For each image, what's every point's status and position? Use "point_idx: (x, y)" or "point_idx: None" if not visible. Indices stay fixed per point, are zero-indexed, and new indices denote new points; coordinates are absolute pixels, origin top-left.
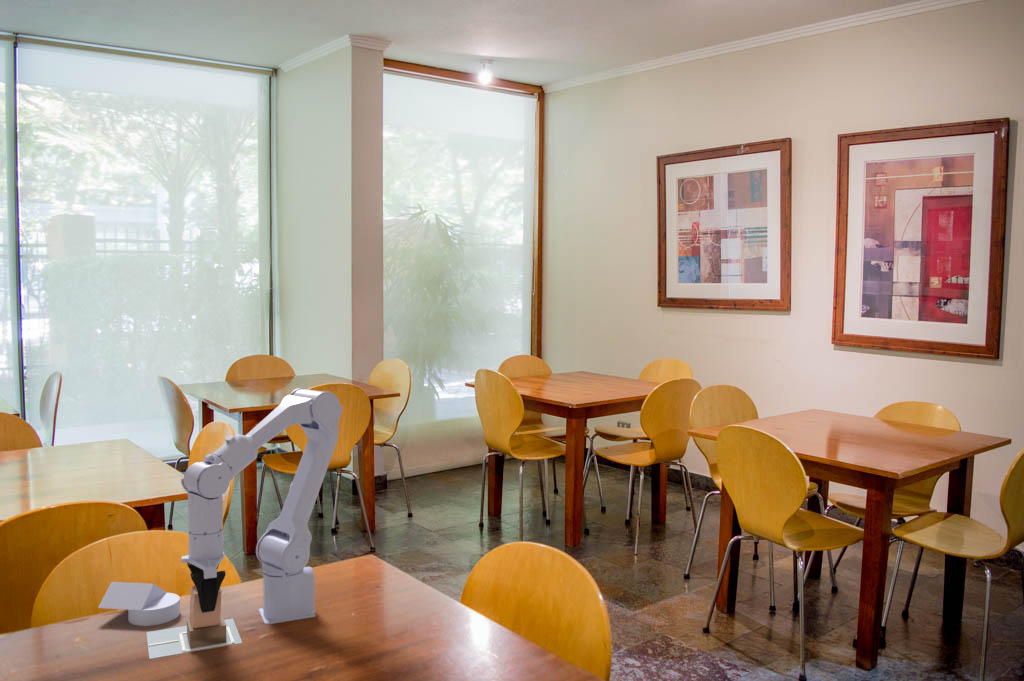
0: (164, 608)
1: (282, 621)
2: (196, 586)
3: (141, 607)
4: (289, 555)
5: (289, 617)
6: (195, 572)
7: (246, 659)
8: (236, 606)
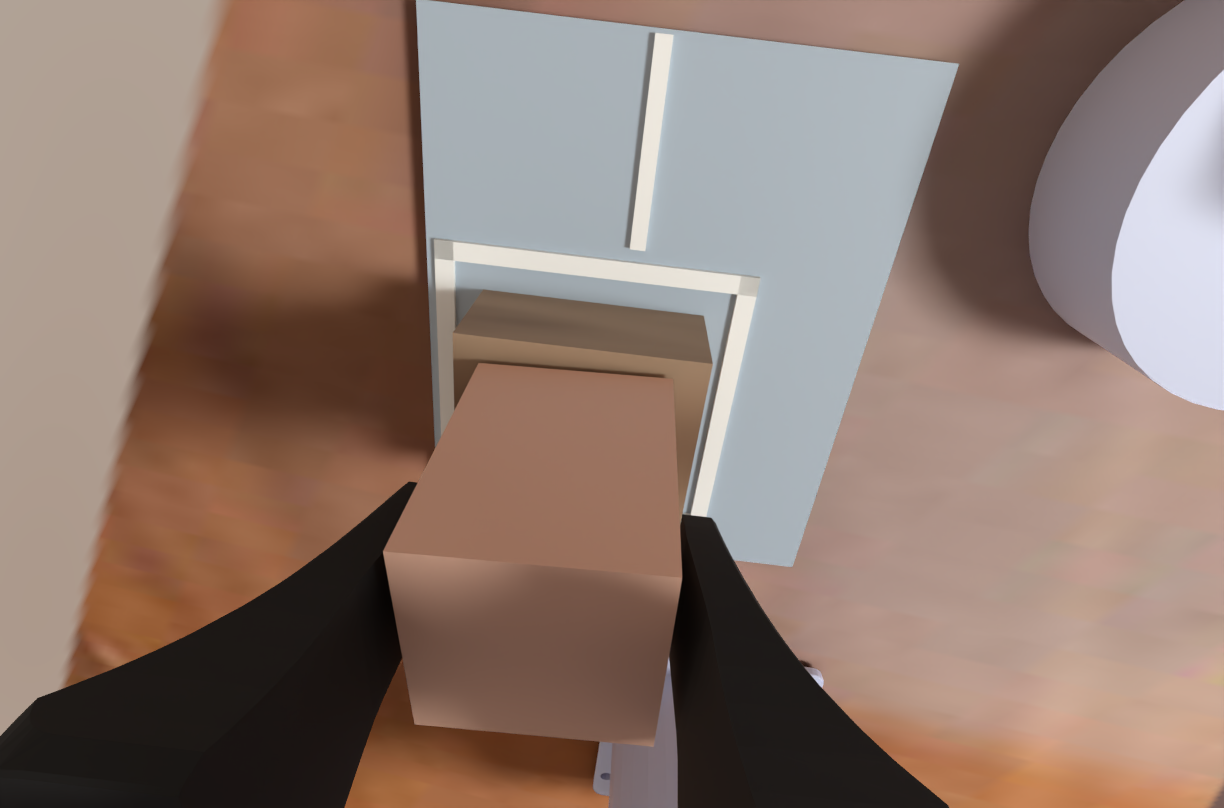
0: (1108, 261)
1: None
2: (151, 657)
3: None
4: None
5: None
6: (722, 759)
7: (265, 491)
8: (976, 614)
